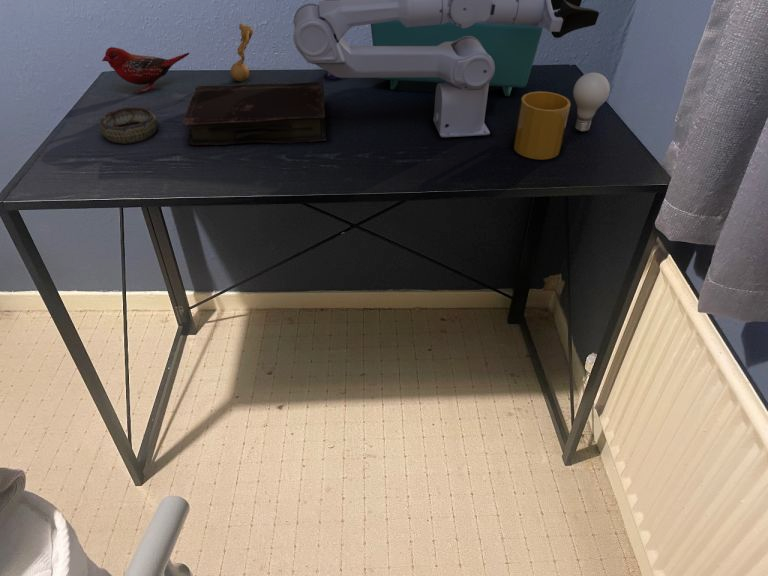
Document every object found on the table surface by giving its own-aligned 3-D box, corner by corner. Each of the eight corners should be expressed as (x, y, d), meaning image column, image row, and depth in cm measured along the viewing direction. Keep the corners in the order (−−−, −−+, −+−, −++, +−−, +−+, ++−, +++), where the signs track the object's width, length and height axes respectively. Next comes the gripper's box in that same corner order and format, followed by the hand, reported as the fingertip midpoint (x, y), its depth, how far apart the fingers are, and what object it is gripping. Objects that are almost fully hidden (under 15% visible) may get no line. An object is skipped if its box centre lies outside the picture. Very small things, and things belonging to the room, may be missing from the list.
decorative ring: (165, 121, 112) (113, 121, 112) (161, 105, 110) (108, 105, 110) (150, 145, 104) (95, 146, 104) (145, 128, 102) (89, 129, 102)
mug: (568, 156, 102) (579, 107, 96) (527, 162, 100) (536, 113, 95) (538, 129, 110) (547, 83, 104) (499, 135, 108) (506, 88, 102)
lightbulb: (599, 140, 107) (615, 81, 100) (564, 136, 108) (578, 78, 101) (597, 125, 112) (612, 68, 105) (563, 122, 113) (576, 65, 106)
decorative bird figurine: (111, 96, 121) (96, 47, 115) (193, 79, 128) (183, 32, 122) (115, 101, 119) (100, 51, 113) (197, 83, 127) (188, 36, 120)
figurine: (232, 74, 131) (222, 18, 123) (258, 73, 132) (251, 17, 124) (232, 88, 125) (222, 30, 117) (260, 86, 125) (252, 29, 118)
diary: (201, 107, 117) (196, 82, 114) (324, 102, 119) (322, 78, 116) (187, 149, 103) (181, 123, 100) (326, 144, 105) (325, 118, 102)
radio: (527, 82, 128) (540, 10, 118) (530, 101, 121) (543, 25, 111) (377, 73, 132) (377, 2, 122) (370, 91, 124) (369, 17, 114)
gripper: (530, -2, 89) (612, 1, 91) (507, -36, 99) (582, -33, 101) (519, 43, 95) (597, 45, 96) (498, 6, 104) (569, 9, 106)
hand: (588, 8), depth 99 cm, fingers open, 7 cm apart
